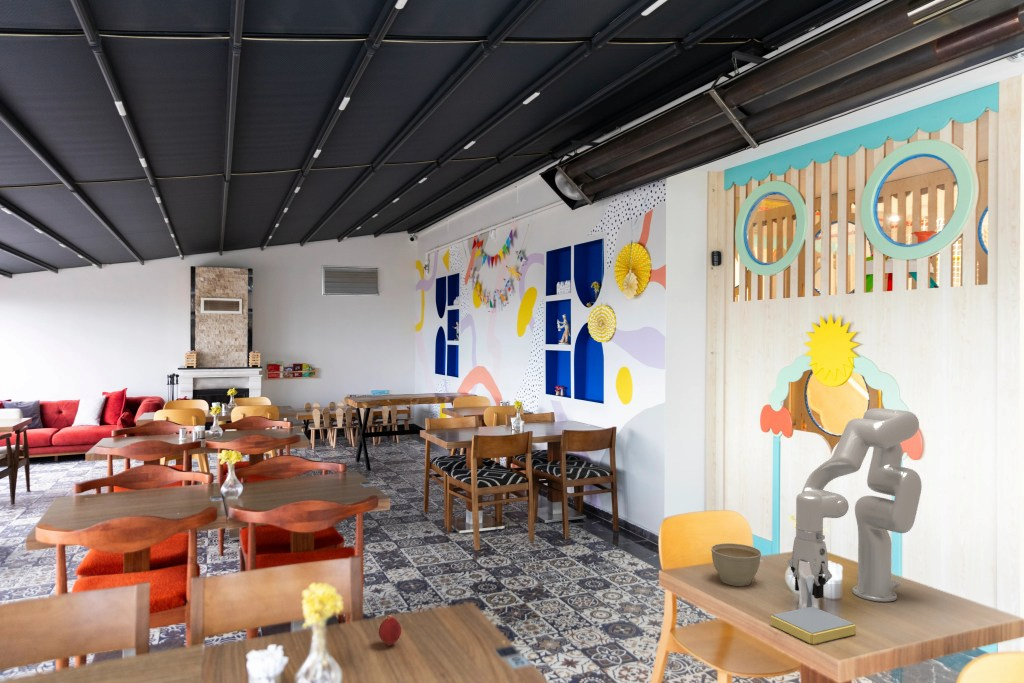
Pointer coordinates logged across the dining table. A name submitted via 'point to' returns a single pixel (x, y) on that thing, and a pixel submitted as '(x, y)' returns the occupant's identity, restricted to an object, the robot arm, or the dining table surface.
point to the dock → (813, 625)
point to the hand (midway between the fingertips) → (809, 593)
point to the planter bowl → (736, 563)
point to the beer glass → (806, 585)
